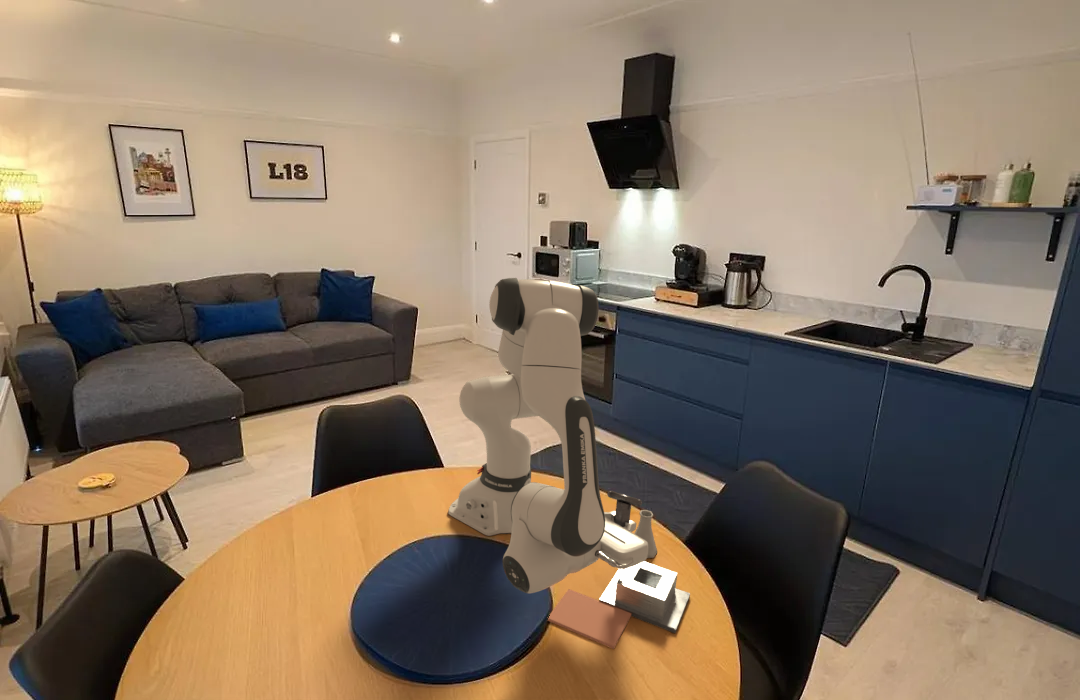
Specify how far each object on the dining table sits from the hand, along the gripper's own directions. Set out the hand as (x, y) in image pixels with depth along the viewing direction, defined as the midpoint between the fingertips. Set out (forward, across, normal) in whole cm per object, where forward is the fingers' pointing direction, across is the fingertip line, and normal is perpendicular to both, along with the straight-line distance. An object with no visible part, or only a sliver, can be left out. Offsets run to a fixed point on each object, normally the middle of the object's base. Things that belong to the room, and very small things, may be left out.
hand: (625, 519), depth 114 cm
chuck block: (+2, -6, +17) cm, 18 cm away
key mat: (-11, -2, +17) cm, 20 cm away
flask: (+16, +6, +17) cm, 24 cm away
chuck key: (-1, 0, +8) cm, 9 cm away
